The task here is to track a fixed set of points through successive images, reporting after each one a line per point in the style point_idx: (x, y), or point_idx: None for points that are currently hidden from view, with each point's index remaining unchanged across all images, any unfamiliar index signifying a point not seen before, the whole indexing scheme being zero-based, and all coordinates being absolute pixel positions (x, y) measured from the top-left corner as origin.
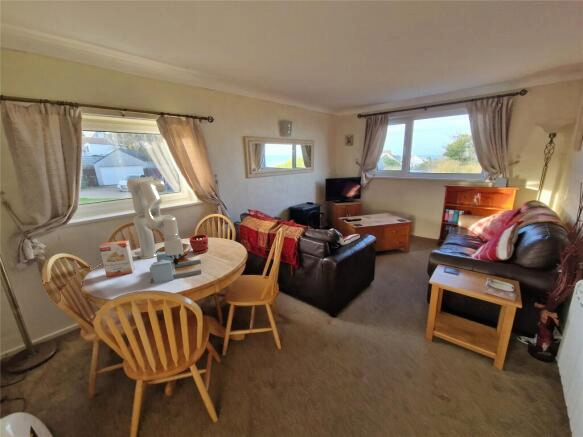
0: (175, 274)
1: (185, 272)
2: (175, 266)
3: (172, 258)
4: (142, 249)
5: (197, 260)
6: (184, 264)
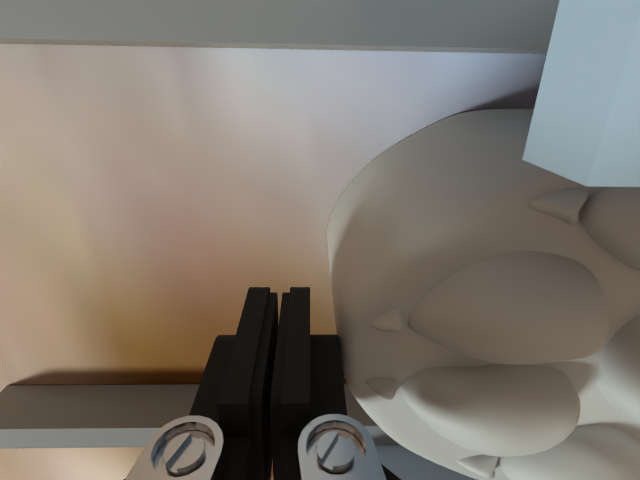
0: (302, 4)
1: (93, 11)
2: None
3: (366, 446)
4: None
5: (12, 427)
6: None
